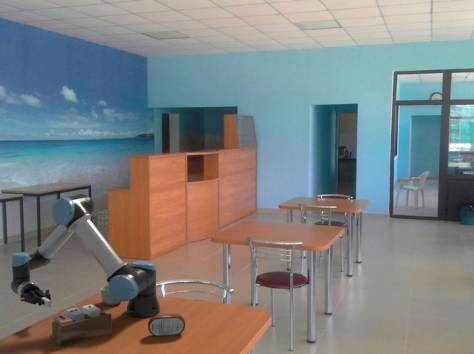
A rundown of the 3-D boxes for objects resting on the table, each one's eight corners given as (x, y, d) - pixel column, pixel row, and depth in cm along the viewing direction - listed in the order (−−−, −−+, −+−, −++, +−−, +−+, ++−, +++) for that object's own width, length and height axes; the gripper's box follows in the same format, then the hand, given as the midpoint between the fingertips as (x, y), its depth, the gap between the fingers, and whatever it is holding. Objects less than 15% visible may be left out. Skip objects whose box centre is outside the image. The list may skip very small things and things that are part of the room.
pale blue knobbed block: (66, 323, 215) (65, 309, 215) (76, 321, 218) (76, 306, 217) (74, 329, 209) (73, 314, 209) (84, 327, 212) (84, 312, 211)
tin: (185, 332, 213) (185, 312, 212) (185, 335, 210) (185, 315, 209) (148, 334, 211) (147, 314, 210) (148, 337, 207) (147, 317, 207)
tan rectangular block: (54, 331, 207) (53, 316, 206) (64, 328, 210) (64, 313, 209) (62, 337, 201) (61, 321, 200) (72, 334, 204) (72, 319, 203)
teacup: (118, 307, 242) (117, 291, 241) (96, 306, 244) (96, 289, 243) (130, 298, 256) (129, 282, 255) (109, 296, 258) (109, 281, 257)
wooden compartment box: (52, 338, 205) (51, 319, 205) (101, 326, 219) (100, 307, 218) (61, 346, 198) (61, 326, 198) (111, 332, 212) (111, 313, 211)
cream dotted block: (82, 320, 220) (81, 305, 219) (91, 317, 223) (91, 303, 222) (90, 325, 214) (90, 310, 213) (100, 322, 217) (100, 308, 216)
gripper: (43, 296, 238) (64, 309, 220) (14, 302, 229) (33, 316, 211) (43, 280, 237) (63, 292, 219) (13, 286, 229) (32, 298, 211)
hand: (49, 304), depth 215 cm, fingers closed
